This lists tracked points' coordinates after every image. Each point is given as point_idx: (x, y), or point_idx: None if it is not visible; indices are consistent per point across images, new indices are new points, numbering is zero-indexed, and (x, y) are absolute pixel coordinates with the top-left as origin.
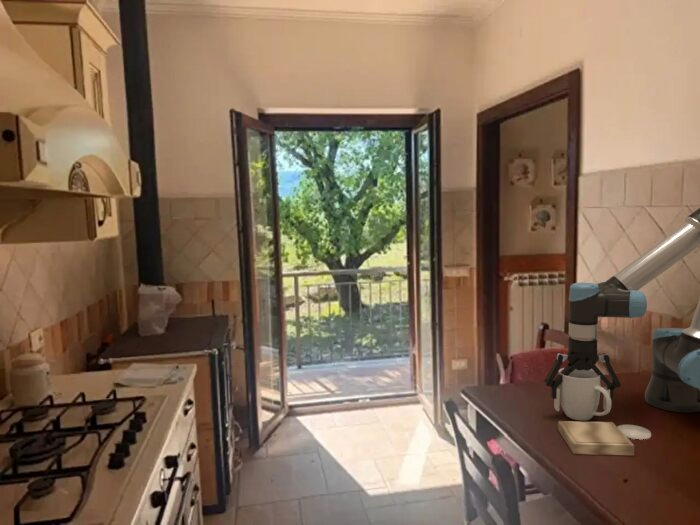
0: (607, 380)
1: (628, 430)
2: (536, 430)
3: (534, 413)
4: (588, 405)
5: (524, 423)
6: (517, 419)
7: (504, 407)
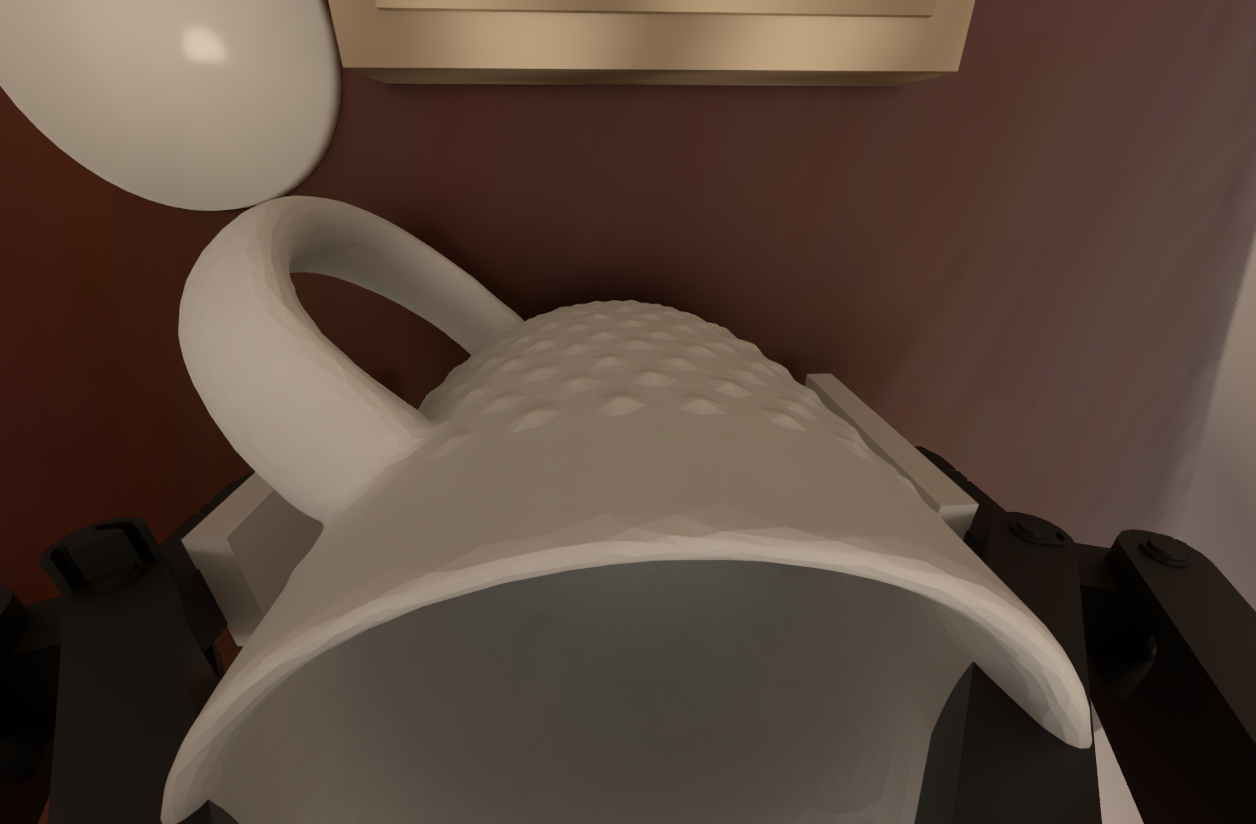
0: (85, 691)
1: (205, 38)
2: (1096, 69)
3: (916, 439)
4: (567, 312)
5: (1101, 237)
6: (1104, 318)
7: (1062, 518)
